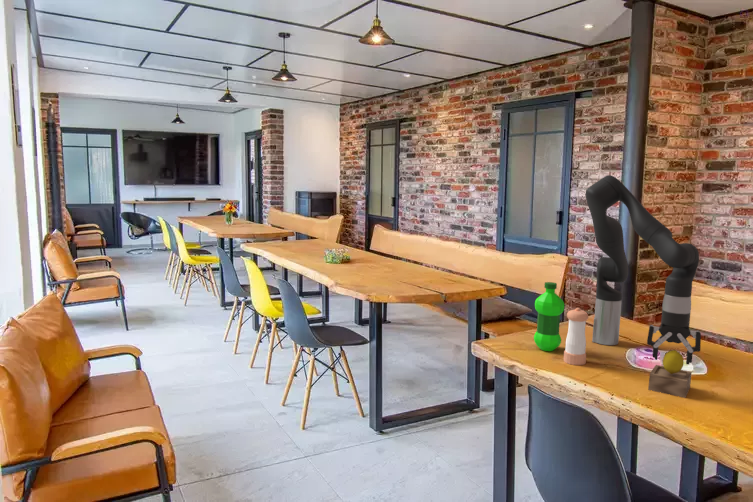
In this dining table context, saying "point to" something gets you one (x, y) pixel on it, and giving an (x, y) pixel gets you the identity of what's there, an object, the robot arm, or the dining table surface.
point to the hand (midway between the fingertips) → (671, 361)
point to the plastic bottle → (548, 318)
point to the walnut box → (669, 381)
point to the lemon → (673, 361)
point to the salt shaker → (576, 338)
